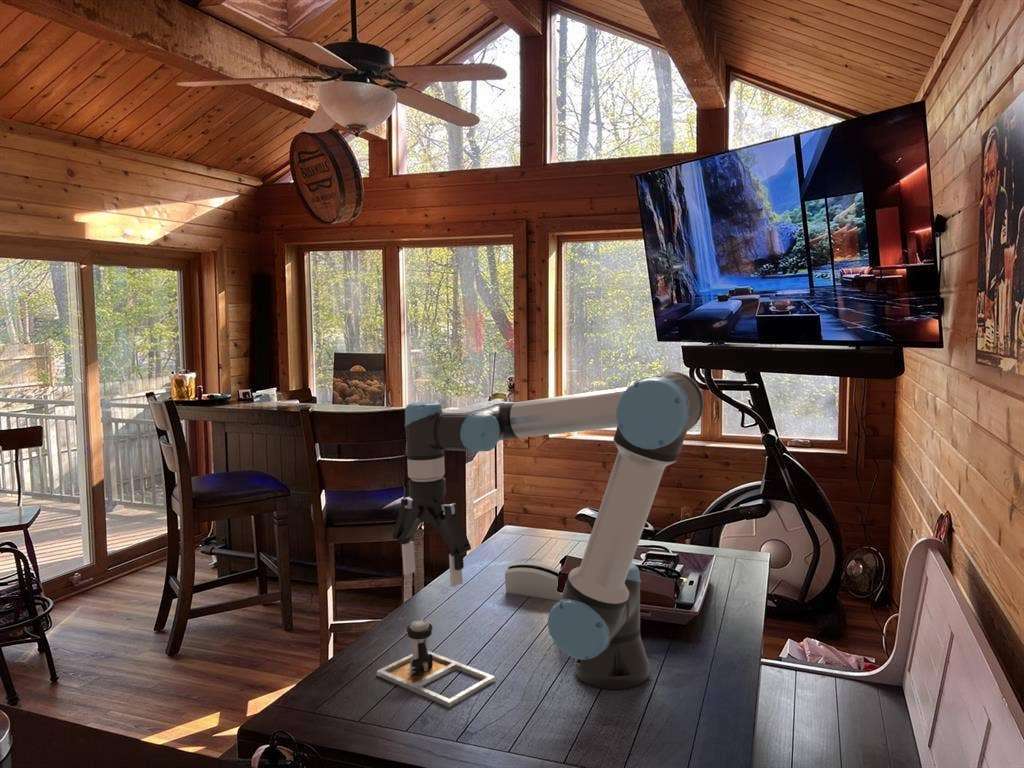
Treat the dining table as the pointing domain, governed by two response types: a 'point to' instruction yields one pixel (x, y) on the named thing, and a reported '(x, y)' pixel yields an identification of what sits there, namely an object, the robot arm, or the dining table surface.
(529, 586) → the white rounded block
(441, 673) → the white divided frame
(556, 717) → the dining table surface
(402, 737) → the dining table surface
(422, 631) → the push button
